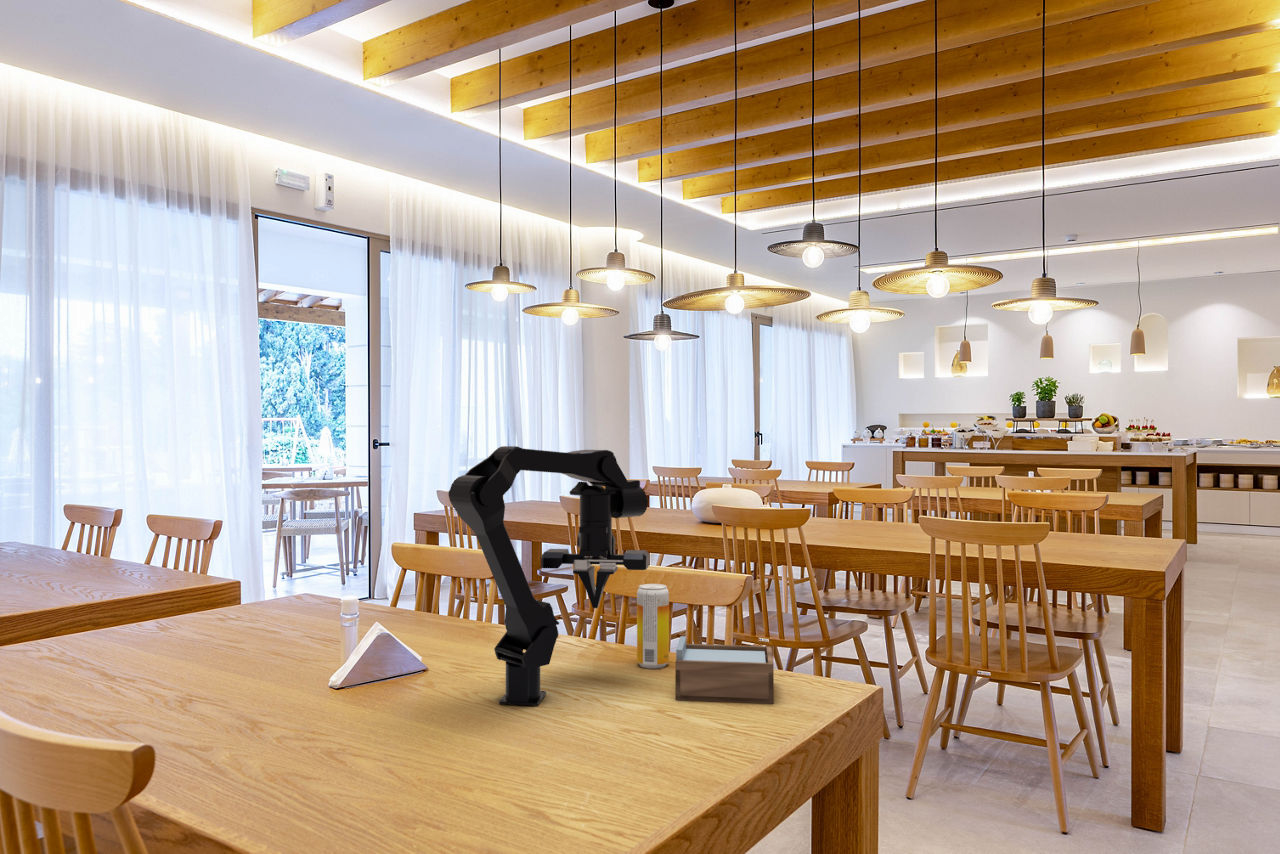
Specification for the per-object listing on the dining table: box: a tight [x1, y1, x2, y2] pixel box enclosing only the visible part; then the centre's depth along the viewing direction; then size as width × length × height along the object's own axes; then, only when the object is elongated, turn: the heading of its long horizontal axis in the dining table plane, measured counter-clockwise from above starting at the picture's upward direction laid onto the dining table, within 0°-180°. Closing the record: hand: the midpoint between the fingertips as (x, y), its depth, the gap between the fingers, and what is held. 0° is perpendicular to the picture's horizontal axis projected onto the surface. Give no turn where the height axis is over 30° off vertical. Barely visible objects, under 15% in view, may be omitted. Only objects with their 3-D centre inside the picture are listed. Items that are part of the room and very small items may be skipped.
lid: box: [675, 635, 766, 663], centre depth 145 cm, size 10×15×3 cm, turn 83°
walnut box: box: [674, 643, 775, 705], centre depth 144 cm, size 12×16×6 cm
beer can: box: [636, 583, 670, 670], centre depth 161 cm, size 6×6×15 cm
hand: (595, 607), depth 150 cm, fingers closed
